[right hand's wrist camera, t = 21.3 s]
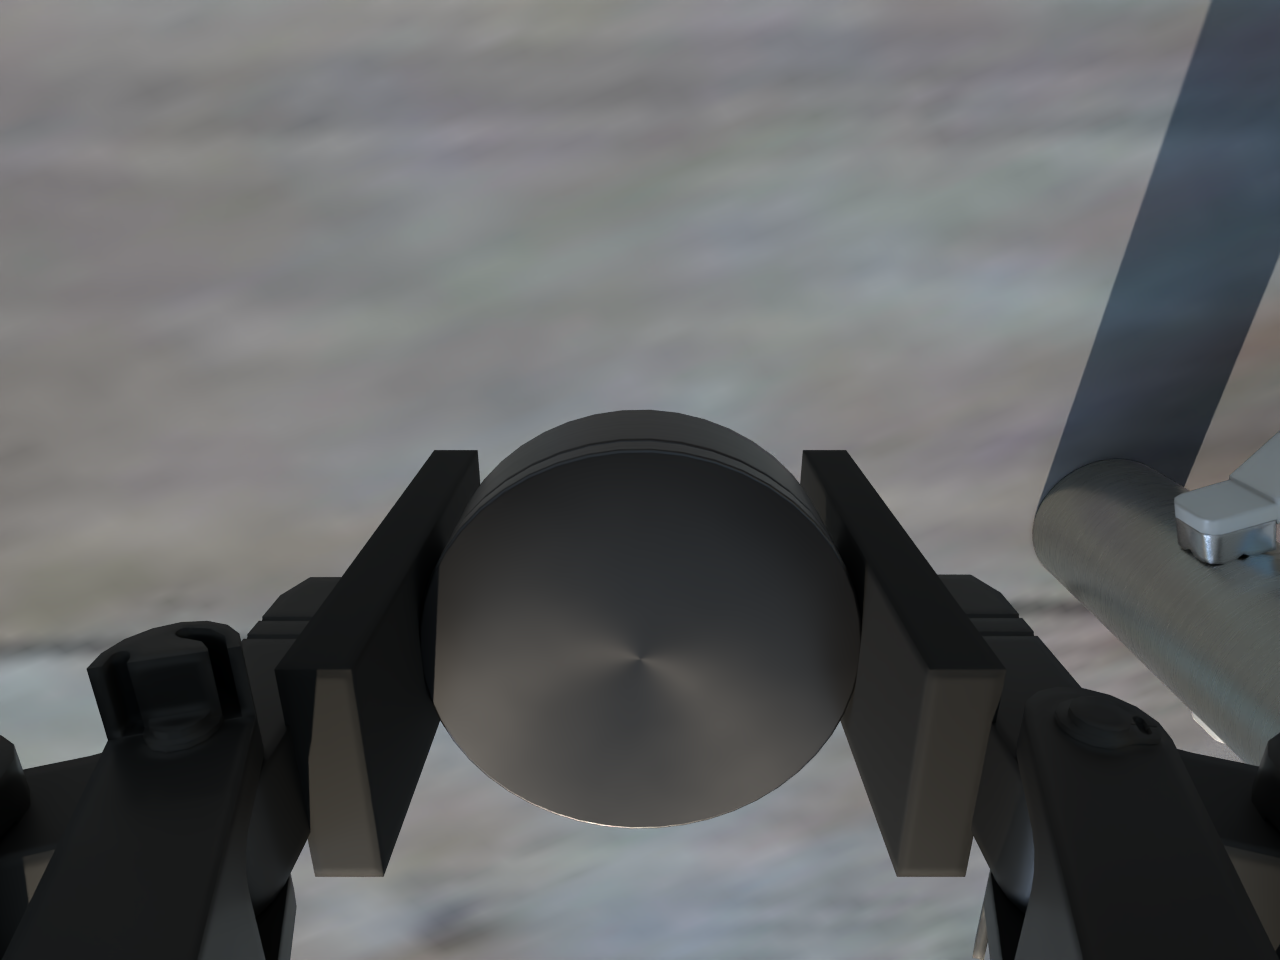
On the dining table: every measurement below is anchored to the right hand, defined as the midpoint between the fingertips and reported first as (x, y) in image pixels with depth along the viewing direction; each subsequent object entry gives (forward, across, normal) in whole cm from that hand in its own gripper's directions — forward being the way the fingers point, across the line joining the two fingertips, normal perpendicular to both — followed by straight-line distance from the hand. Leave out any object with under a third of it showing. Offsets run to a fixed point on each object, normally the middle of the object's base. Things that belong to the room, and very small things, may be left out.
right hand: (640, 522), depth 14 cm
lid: (-4, 0, 0) cm, 4 cm away
